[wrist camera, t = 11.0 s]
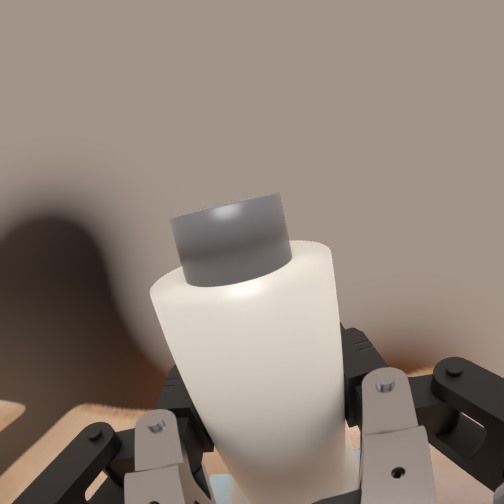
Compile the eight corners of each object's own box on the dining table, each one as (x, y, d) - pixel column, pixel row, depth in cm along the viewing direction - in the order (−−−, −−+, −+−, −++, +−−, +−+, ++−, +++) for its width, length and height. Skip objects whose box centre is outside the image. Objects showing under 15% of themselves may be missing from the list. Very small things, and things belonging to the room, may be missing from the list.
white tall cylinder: (237, 550, 7) (37, 263, 4) (238, 462, 12) (149, 220, 9) (373, 526, 6) (415, 176, 3) (344, 442, 12) (317, 182, 9)
